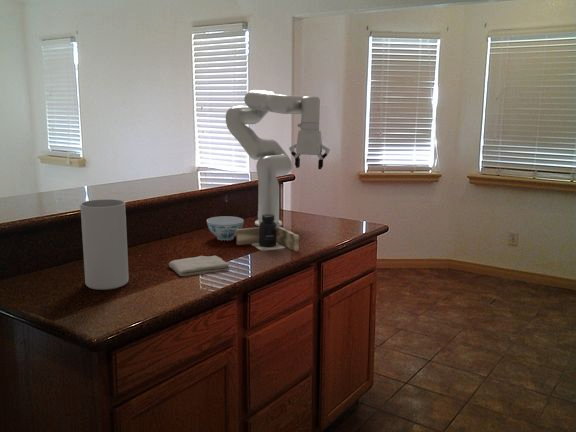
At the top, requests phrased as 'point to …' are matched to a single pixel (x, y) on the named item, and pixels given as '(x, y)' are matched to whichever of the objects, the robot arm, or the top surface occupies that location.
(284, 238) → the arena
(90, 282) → the cylinder vase
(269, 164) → the robot arm
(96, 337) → the top surface
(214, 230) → the chinaware
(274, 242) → the supplement bottle
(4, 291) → the top surface
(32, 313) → the top surface
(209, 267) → the washcloth
